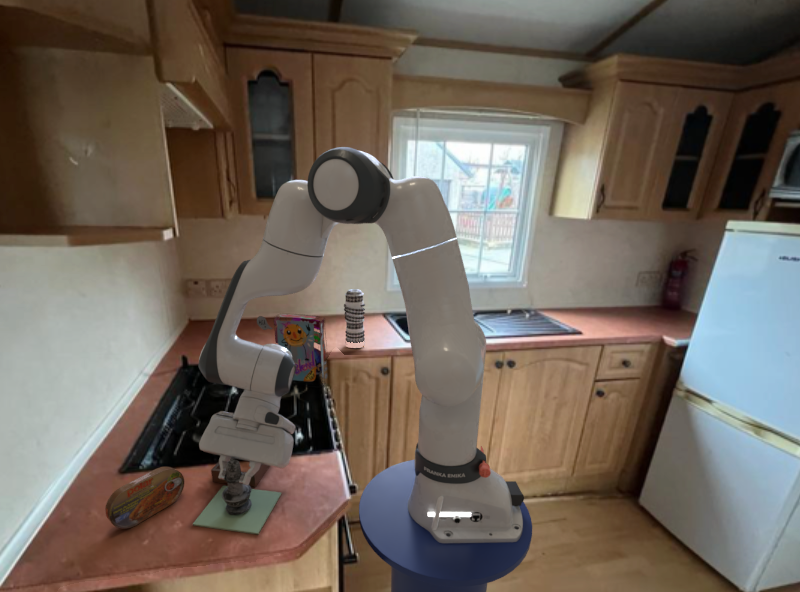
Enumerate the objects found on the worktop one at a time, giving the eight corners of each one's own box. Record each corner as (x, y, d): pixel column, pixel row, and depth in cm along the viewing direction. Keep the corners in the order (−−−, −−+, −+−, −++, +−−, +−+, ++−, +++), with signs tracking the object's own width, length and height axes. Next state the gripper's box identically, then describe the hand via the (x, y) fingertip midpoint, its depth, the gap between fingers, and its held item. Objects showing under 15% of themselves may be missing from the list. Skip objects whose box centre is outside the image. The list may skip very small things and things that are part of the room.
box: (258, 380, 148) (251, 315, 139) (267, 374, 153) (260, 310, 145) (322, 389, 141) (318, 320, 132) (329, 381, 146) (326, 315, 138)
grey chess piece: (255, 495, 89) (249, 448, 85) (250, 515, 83) (243, 465, 79) (228, 497, 89) (220, 449, 84) (220, 516, 83) (212, 467, 79)
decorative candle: (358, 341, 189) (357, 287, 180) (369, 346, 182) (369, 290, 173) (341, 345, 184) (339, 289, 175) (352, 350, 177) (350, 293, 168)
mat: (281, 493, 91) (281, 492, 90) (258, 534, 79) (258, 533, 79) (223, 486, 93) (223, 485, 93) (192, 525, 82) (192, 523, 82)
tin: (115, 537, 79) (105, 502, 76) (108, 530, 81) (98, 495, 78) (188, 495, 90) (181, 463, 87) (180, 489, 92) (174, 457, 89)
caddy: (274, 459, 103) (272, 448, 101) (255, 486, 93) (254, 475, 92) (234, 455, 104) (233, 444, 103) (212, 481, 95) (210, 470, 94)
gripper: (206, 405, 89) (181, 469, 84) (291, 419, 83) (269, 490, 77) (222, 413, 94) (200, 474, 89) (302, 428, 88) (283, 494, 83)
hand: (233, 482), depth 83 cm, fingers closed on grey chess piece, 3 cm apart
